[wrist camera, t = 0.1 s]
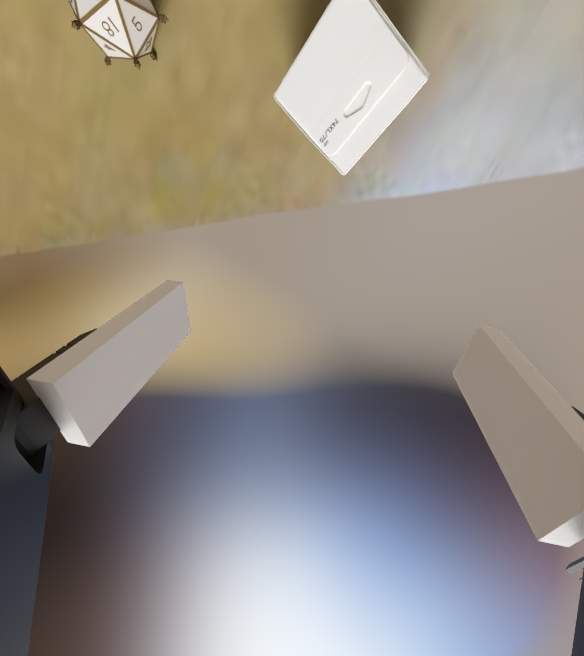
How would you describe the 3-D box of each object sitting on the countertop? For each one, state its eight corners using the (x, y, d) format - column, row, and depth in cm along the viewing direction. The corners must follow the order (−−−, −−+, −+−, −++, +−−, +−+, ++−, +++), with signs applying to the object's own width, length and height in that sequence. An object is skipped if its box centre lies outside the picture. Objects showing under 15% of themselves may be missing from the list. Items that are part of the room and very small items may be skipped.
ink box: (348, 32, 26) (353, -42, 17) (403, 104, 28) (434, 76, 19) (292, 115, 30) (270, 96, 21) (343, 172, 33) (344, 178, 23)
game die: (160, 60, 32) (98, 99, 29) (97, -52, 26) (8, -19, 23) (202, 28, 27) (132, 71, 24) (134, -122, 21) (26, -94, 17)
